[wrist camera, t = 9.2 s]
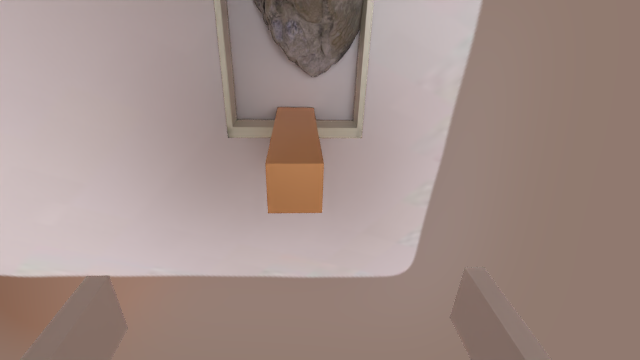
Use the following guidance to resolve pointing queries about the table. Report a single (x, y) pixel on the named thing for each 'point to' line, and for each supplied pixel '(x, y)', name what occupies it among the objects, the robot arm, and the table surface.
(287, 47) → the fossilized seashell
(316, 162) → the sled
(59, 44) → the table surface
